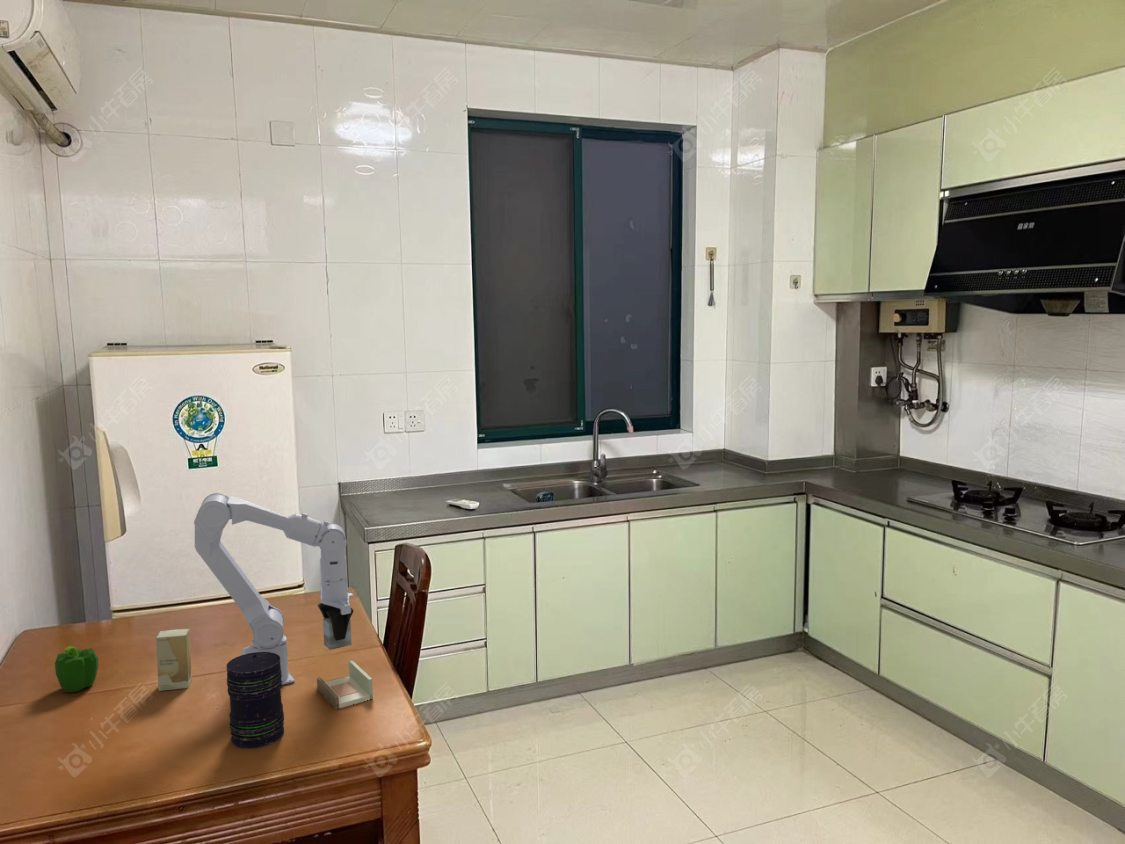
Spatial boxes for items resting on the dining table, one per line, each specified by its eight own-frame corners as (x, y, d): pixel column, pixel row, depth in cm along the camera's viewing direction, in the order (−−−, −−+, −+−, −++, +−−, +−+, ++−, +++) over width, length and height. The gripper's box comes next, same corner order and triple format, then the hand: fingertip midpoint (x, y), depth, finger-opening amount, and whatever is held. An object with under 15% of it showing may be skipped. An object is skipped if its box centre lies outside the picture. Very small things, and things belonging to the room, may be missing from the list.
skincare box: (158, 692, 178) (154, 637, 176) (162, 683, 182) (158, 630, 181) (190, 688, 180) (186, 634, 178) (193, 680, 184) (189, 627, 182)
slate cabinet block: (330, 650, 183) (328, 624, 183) (324, 644, 187) (323, 619, 186) (351, 645, 186) (350, 619, 186) (345, 639, 190) (344, 614, 189)
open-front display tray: (335, 709, 168) (334, 688, 168) (317, 688, 178) (316, 668, 178) (372, 699, 173) (372, 678, 172) (352, 679, 183) (351, 660, 182)
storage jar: (283, 744, 154) (279, 668, 153) (228, 752, 152) (223, 675, 150) (285, 720, 164) (281, 648, 162) (233, 727, 161) (228, 655, 159)
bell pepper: (83, 677, 186) (80, 634, 185) (107, 683, 182) (104, 640, 181) (46, 691, 179) (42, 647, 177) (70, 699, 175) (66, 654, 174)
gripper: (363, 582, 181) (365, 641, 182) (340, 567, 193) (342, 623, 194) (331, 588, 177) (334, 649, 178) (310, 573, 189) (313, 629, 190)
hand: (336, 636), depth 186 cm, fingers closed on slate cabinet block, 4 cm apart
